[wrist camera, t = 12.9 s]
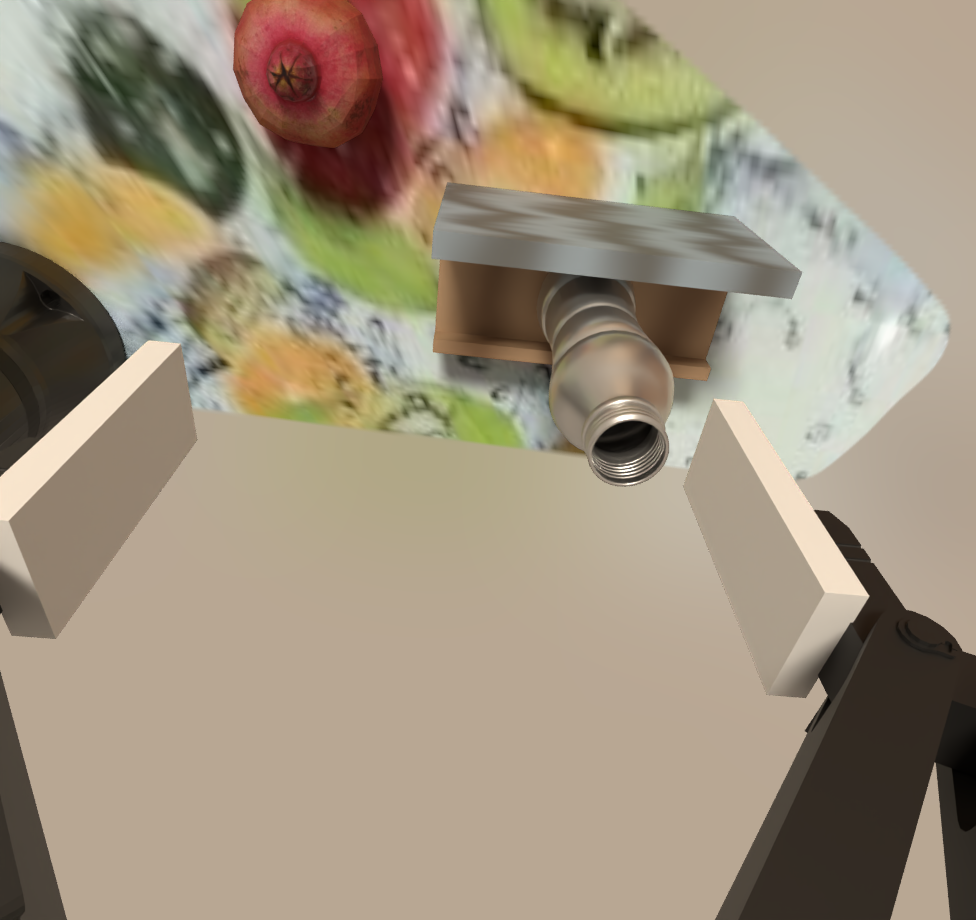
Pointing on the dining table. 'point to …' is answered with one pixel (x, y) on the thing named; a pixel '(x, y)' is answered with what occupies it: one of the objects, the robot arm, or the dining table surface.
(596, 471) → the silver metal bottle
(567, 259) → the brown wooden box
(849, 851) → the robot arm
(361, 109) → the fruit
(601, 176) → the dining table surface
